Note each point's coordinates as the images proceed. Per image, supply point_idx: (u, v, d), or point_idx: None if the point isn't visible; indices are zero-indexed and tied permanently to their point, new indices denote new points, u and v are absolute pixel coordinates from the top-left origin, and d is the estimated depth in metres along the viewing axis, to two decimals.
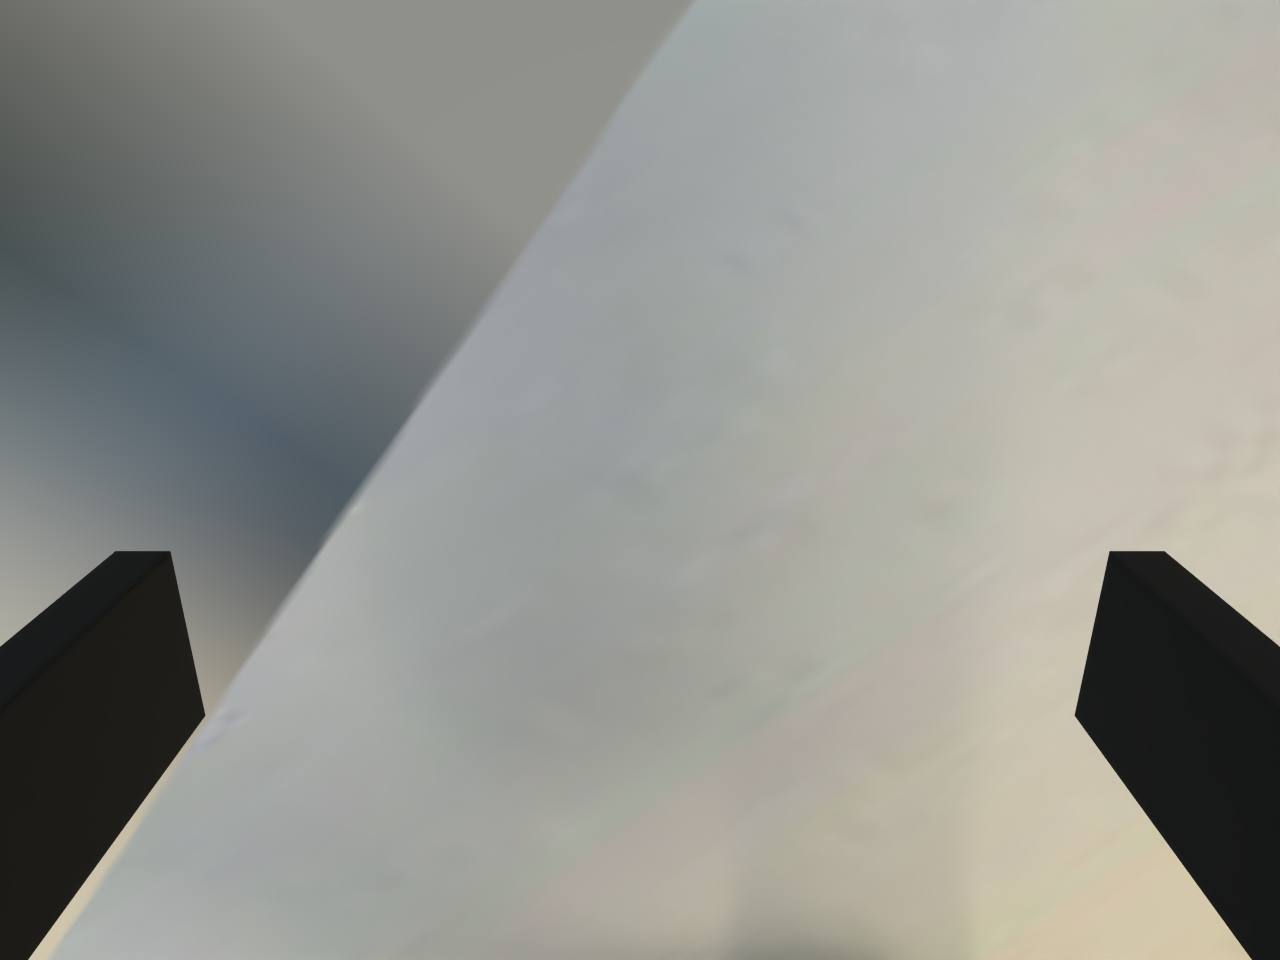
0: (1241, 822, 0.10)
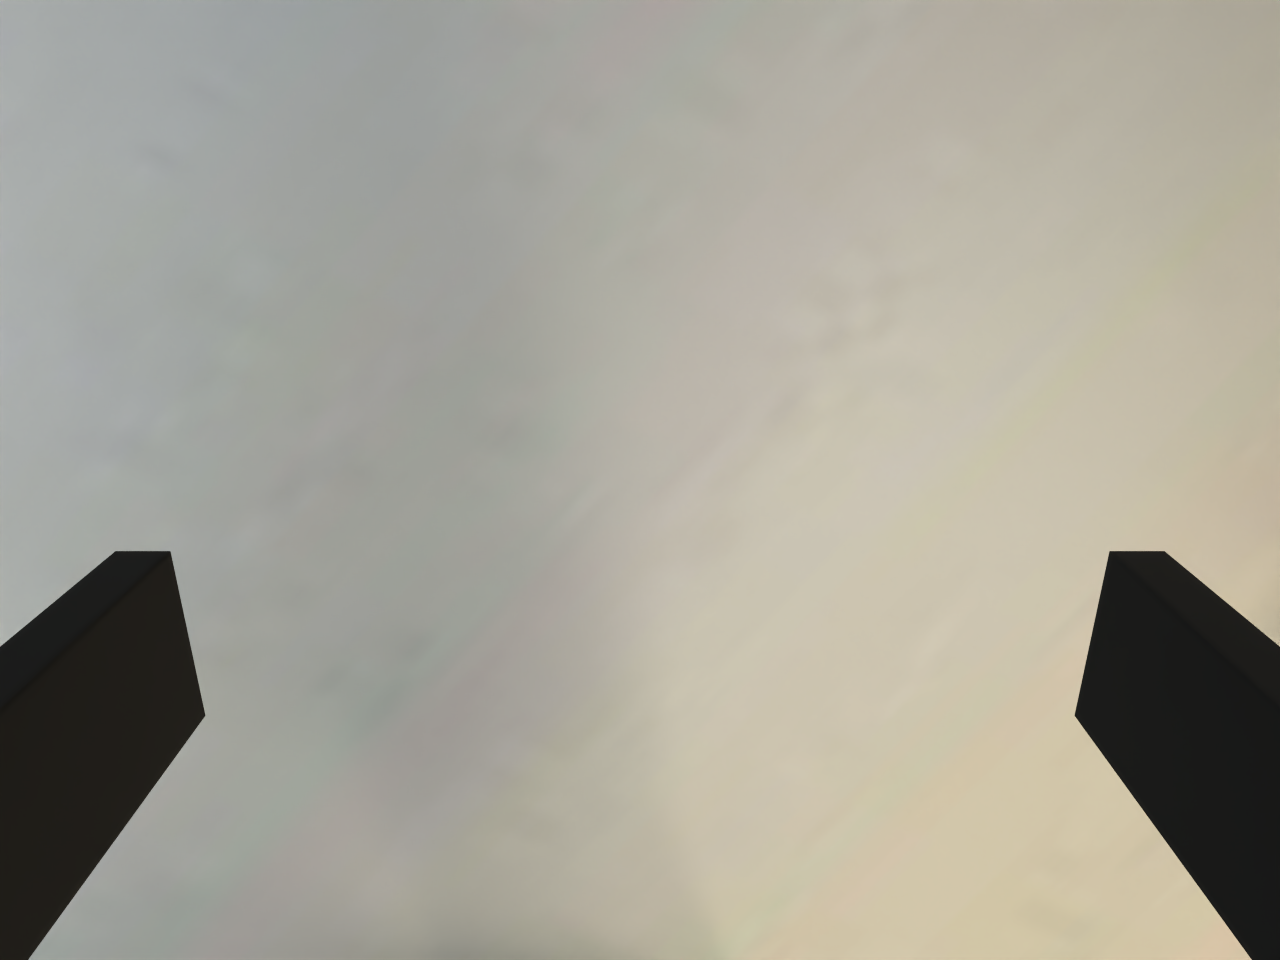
0: (1241, 822, 0.10)
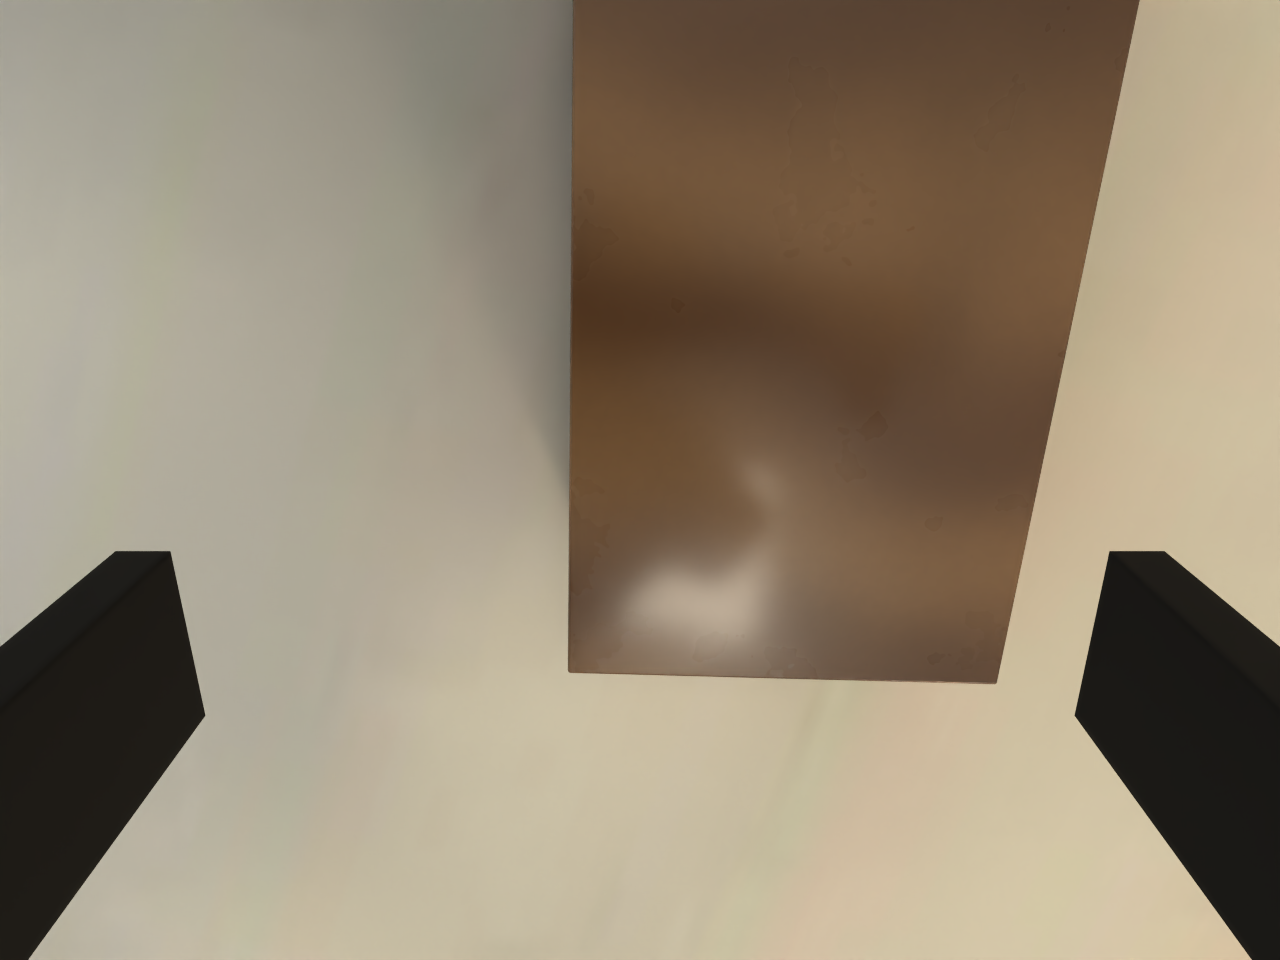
0: (1241, 822, 0.10)
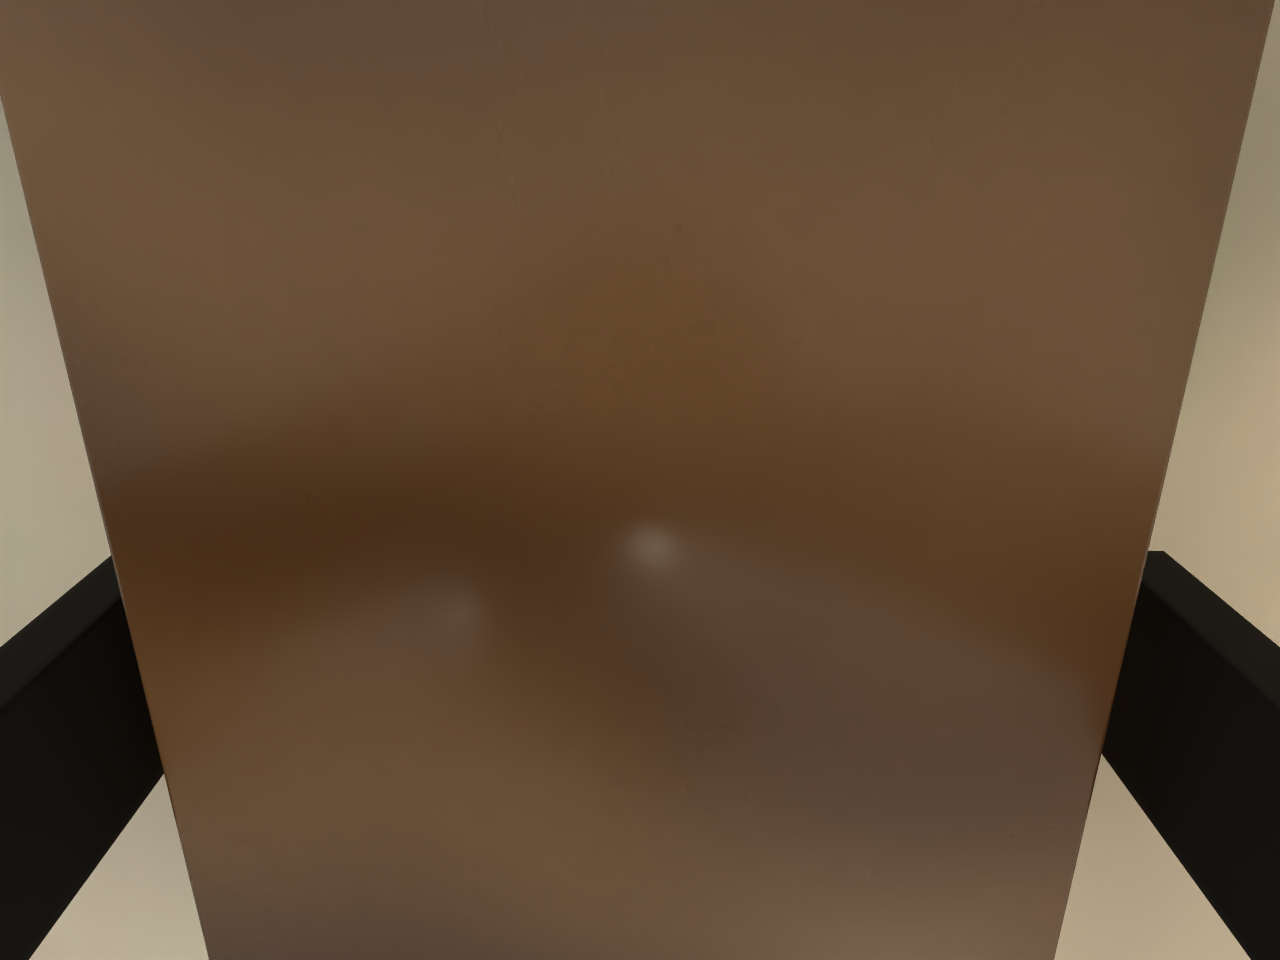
0: (1240, 822, 0.10)
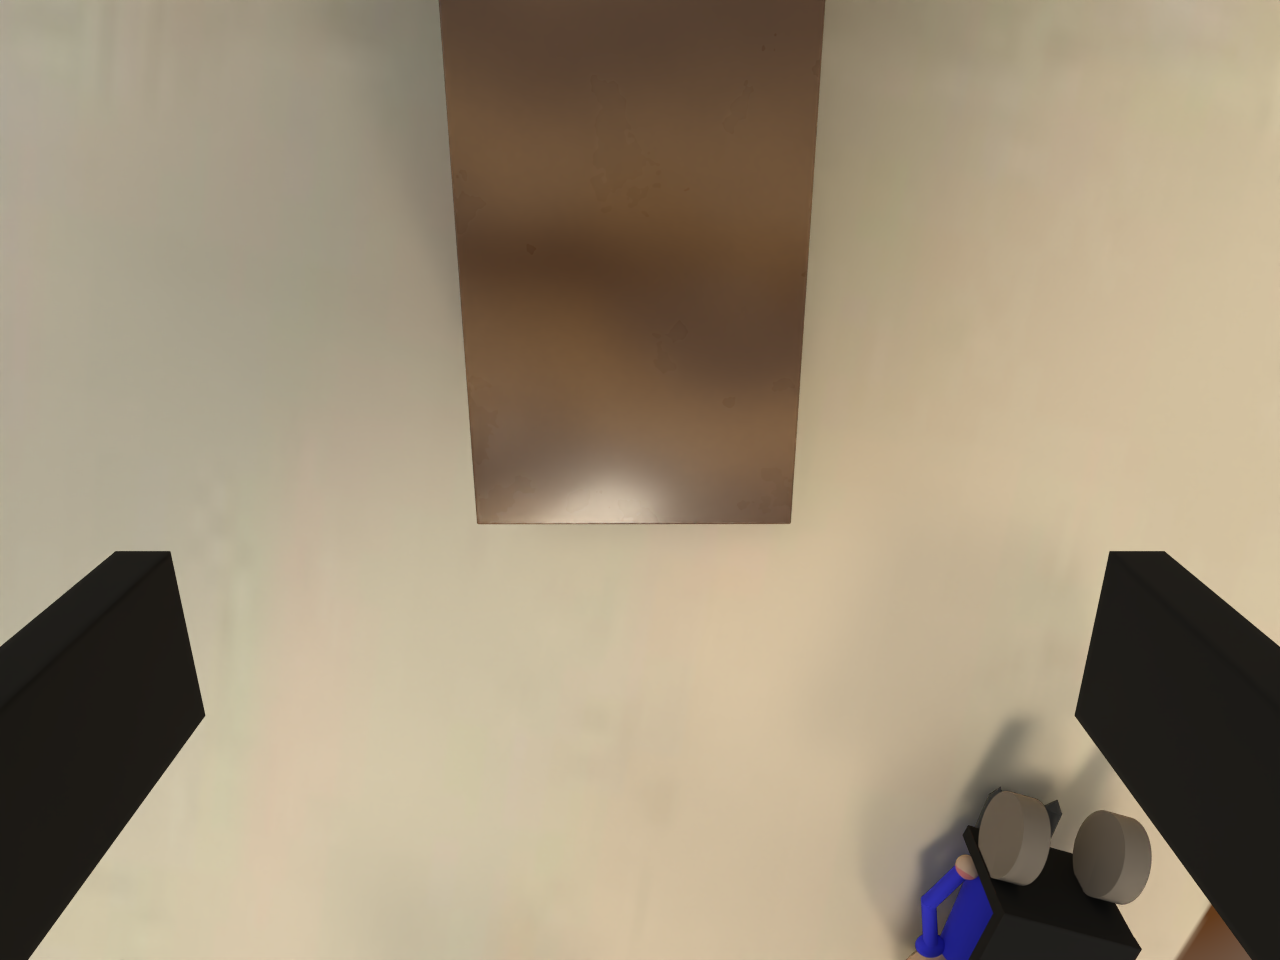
0: (1241, 822, 0.10)
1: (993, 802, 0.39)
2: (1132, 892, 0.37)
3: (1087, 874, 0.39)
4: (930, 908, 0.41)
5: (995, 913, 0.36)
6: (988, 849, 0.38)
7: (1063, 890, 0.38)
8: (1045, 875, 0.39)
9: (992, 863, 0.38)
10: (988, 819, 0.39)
